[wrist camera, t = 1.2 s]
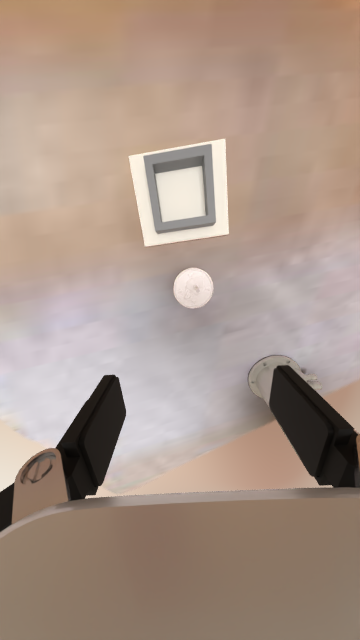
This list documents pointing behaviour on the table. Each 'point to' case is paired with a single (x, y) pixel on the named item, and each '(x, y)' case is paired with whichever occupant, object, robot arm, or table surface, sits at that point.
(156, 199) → the socket board
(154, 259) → the table surface
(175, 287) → the smoothie
